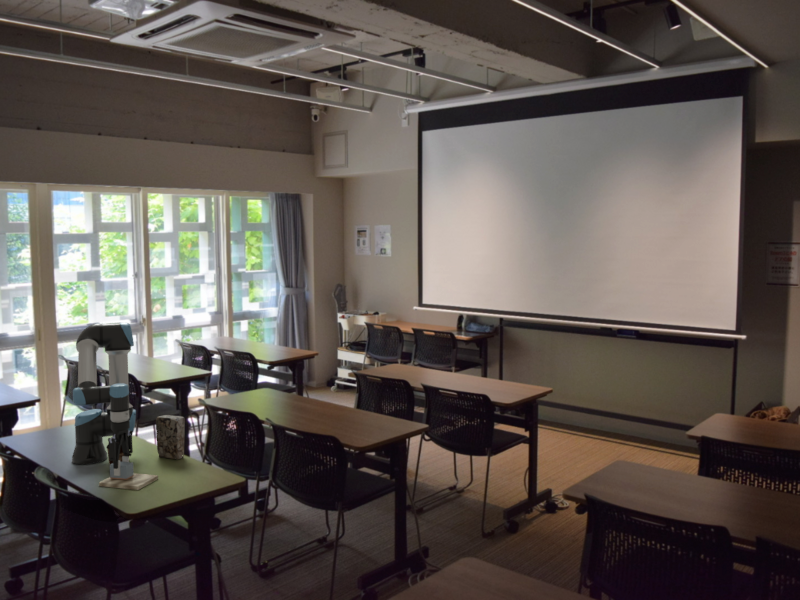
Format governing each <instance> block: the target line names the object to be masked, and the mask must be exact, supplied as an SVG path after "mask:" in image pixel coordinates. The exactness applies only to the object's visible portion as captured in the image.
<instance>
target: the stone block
mask: <svg viewBox="0 0 800 600" xmlns="http://www.w3.org/2000/svg"><path fill="white" fill-rule="evenodd" d="M185 420H186V419H185V417H184V416H181V415H172V414H171V415H169V414H165V415H160V416H157V417H156V419H155V430H156V437H155V439H156V449H157V450H156V451H157V453H158V457H159V458H162V459H163V458H164V459H171V460H181V459H183V458H184V457H185V427H186V425H185V423H186V421H185ZM182 455H183V456H182ZM182 457H183V458H182Z"/></svg>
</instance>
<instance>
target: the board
mask: <svg viewBox="0 0 800 600" xmlns="http://www.w3.org/2000/svg"><path fill="white" fill-rule="evenodd" d="M158 479H159V475H156V474H155V475H154V474H145V473H137V472H136V473H135V472H134V476H133V477H131V478H129V479H127V480H122V479H110V476H109V477H107V478H104V479H103V480H101V481H99V482H98V487H106V488H116V489H125V490H134V491H140V490H141V489H143V488H145V487H147V486H148V485H150V484H151V483H154V482H155V481H157V480H158Z"/></svg>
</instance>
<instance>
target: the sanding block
mask: <svg viewBox="0 0 800 600" xmlns="http://www.w3.org/2000/svg"><path fill="white" fill-rule="evenodd" d="M120 469H121V475H120V476H115V475H114V468H113V463H112V464H110V467H109V477H110V479H122V480H127V479H129V478H131V477H133V476H134V473H135V472H134V462H130V461H129V462H120Z"/></svg>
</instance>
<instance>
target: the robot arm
mask: <svg viewBox="0 0 800 600" xmlns="http://www.w3.org/2000/svg"><path fill="white" fill-rule="evenodd" d="M134 344H135V343H134V336H133V331H132V326H131V324H130V323H129V322H105V323H103V322H102V323H100V322H99V323H93V324H91V325H89V326H87V327H86V328H84V329H83V330H82V331H81V332H80V334H79V335H78V337H77V338H76V343H75V349H76V351H77V353H78V354H77V355H78V356H77V357H78V361H77V362H78V364H77V367H78V368H77V372H78V374H77V375H78V376H77V387H74V388H73V389H72V403H73V405H74V406H87V405H96V404H98V405H99V404H109V405H108V406H107V407H106V411H103V410H102V409H100V408H92V409H87V410H84V411H81V412H79V413H77V414H76V415H75V417H74V427H75V428H74V429H75V431H74V432H75V433H74V434H75V446H74V449H73V452H72V455H71V463H72V464H76V465H91V464H92V465H93V464H98V463H101V462H104V461H105V460H108V451H107V449H106V448H105V445H104V443H103V438H104V437H105V438H106V437H108V439H107V441H108V443H109V460H110V461H113V468H114V475H115V476H120V475H121V469H120V460H119V455H120V447H121V445H122V450H123V455H124V456H122V462H130V457H131V456H132V454H133V452H134V451H133V433H134V430H135V424H136V417H137V410H136V409H134V408H133V407H134V406H133V405H132V404H131V403H130V387H129V386H130V385H129V355H128V354H129V353H130V352H131V350H132V349H131V348H132V347H134ZM99 348H101V349H102V348H103V349H104V352H105V353H106V354H107V355H108V356H107V357H108V382H109V383H108V385H100V386H99V385H98V382H97V381H98V378H97V377H98V376H97V375H98V374H97V372H98V370H97V367H98V366H97V365H98V364H97V363H98V362H97V353H98V350H99ZM97 385H98V386H97ZM116 442H119V443H116ZM109 460H108V461H109Z"/></svg>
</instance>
